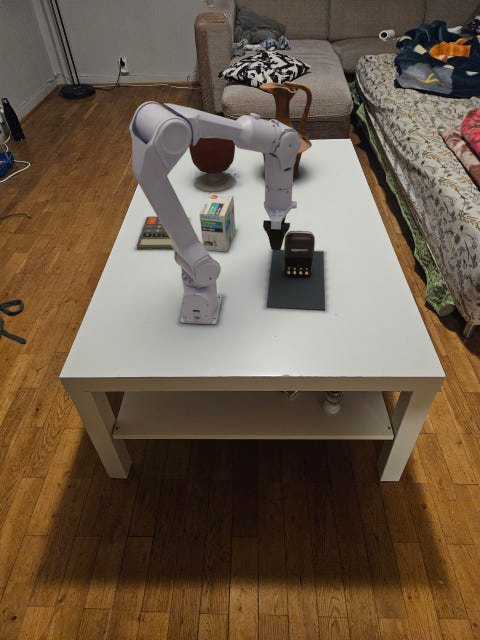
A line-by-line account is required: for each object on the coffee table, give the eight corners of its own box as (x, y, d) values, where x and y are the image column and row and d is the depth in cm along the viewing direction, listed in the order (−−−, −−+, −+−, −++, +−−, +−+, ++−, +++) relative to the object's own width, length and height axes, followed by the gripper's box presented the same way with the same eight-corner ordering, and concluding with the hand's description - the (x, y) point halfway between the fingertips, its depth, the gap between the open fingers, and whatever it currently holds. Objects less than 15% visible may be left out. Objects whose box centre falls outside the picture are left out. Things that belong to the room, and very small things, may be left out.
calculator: (187, 215, 130) (180, 246, 119) (187, 218, 131) (180, 249, 120) (147, 215, 131) (136, 246, 120) (147, 218, 131) (136, 249, 120)
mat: (325, 310, 101) (325, 309, 101) (266, 307, 103) (266, 306, 102) (323, 252, 117) (323, 251, 117) (272, 250, 118) (272, 249, 118)
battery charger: (282, 279, 109) (284, 239, 101) (283, 269, 112) (284, 229, 104) (312, 280, 108) (316, 239, 100) (311, 270, 111) (315, 230, 103)
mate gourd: (238, 173, 150) (236, 110, 136) (233, 193, 140) (230, 128, 126) (192, 172, 152) (185, 109, 138) (184, 192, 142) (176, 127, 128)
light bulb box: (227, 252, 118) (225, 216, 111) (202, 250, 119) (198, 214, 112) (235, 230, 126) (234, 194, 118) (212, 228, 127) (209, 192, 119)
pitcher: (310, 164, 153) (317, 73, 134) (308, 189, 141) (315, 92, 121) (258, 162, 155) (257, 72, 136) (251, 186, 143) (250, 91, 124)
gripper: (297, 202, 89) (293, 258, 98) (299, 168, 99) (295, 222, 108) (261, 201, 89) (261, 257, 99) (266, 167, 100) (266, 221, 109)
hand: (277, 239), depth 104 cm, fingers open, 7 cm apart
